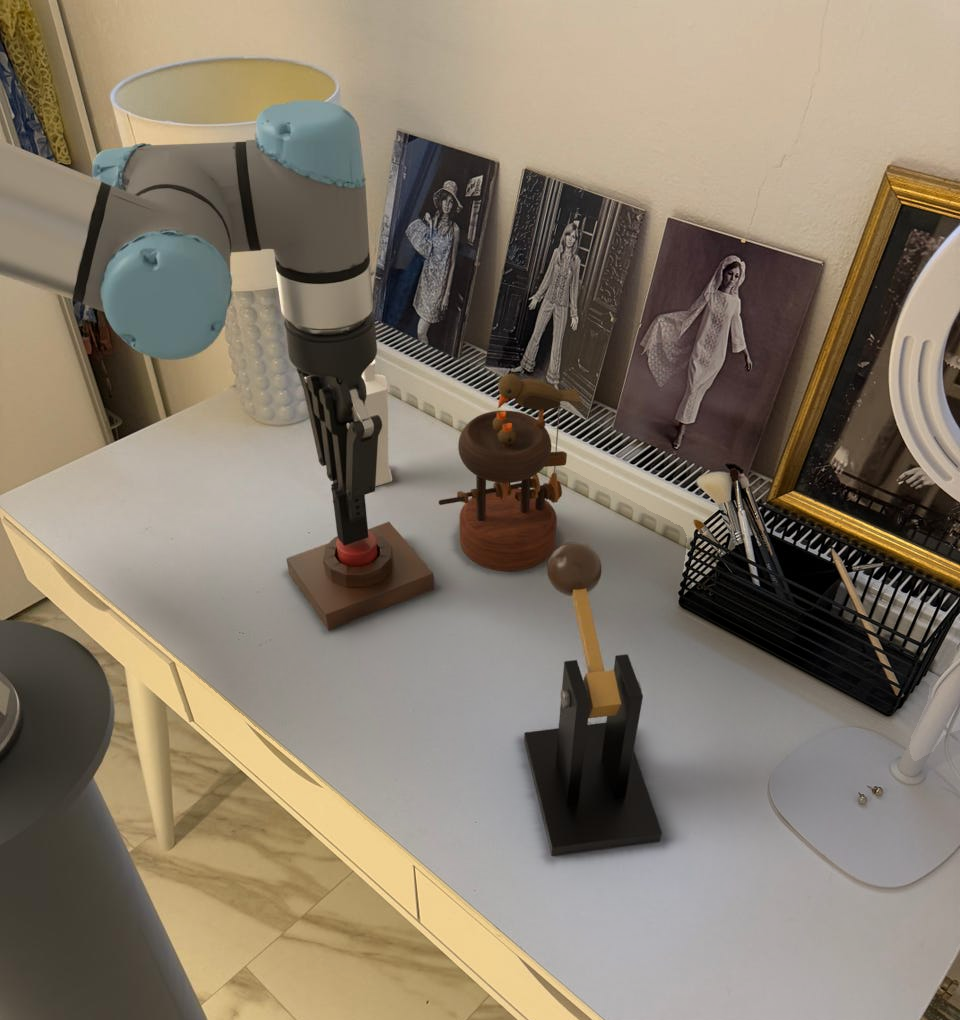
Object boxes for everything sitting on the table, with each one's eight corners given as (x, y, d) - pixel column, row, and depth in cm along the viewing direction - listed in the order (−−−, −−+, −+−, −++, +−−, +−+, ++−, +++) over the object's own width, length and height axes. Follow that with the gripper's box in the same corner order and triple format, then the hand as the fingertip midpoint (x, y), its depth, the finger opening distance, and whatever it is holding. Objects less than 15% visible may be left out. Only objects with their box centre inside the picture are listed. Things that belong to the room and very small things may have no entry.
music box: (537, 494, 111) (555, 341, 96) (584, 556, 105) (611, 402, 90) (415, 529, 107) (414, 374, 91) (457, 596, 100) (463, 441, 85)
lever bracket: (523, 740, 86) (528, 629, 76) (622, 728, 86) (639, 617, 77) (551, 856, 77) (561, 747, 67) (660, 841, 78) (685, 732, 68)
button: (348, 572, 96) (346, 559, 95) (331, 550, 99) (329, 537, 97) (384, 559, 98) (382, 545, 96) (366, 537, 100) (365, 524, 99)
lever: (540, 562, 81) (545, 534, 77) (591, 556, 81) (599, 529, 77) (572, 725, 75) (580, 704, 71) (627, 718, 75) (638, 697, 71)
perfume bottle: (405, 475, 114) (396, 360, 103) (377, 491, 112) (366, 375, 101) (379, 460, 116) (368, 345, 106) (351, 476, 114) (337, 360, 104)
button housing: (328, 630, 96) (323, 601, 93) (288, 574, 102) (283, 544, 99) (434, 589, 100) (432, 559, 97) (390, 537, 106) (387, 507, 103)
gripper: (405, 336, 77) (416, 561, 94) (337, 275, 85) (358, 492, 102) (319, 359, 75) (346, 587, 91) (257, 293, 82) (292, 514, 99)
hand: (353, 537), depth 97 cm, fingers closed
